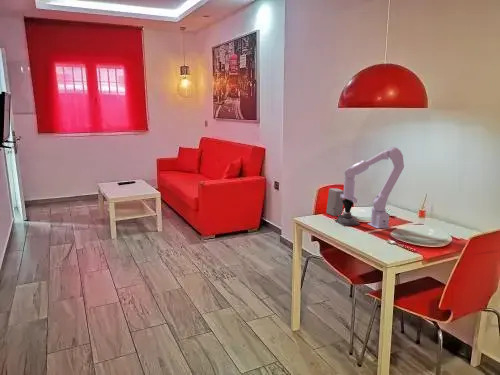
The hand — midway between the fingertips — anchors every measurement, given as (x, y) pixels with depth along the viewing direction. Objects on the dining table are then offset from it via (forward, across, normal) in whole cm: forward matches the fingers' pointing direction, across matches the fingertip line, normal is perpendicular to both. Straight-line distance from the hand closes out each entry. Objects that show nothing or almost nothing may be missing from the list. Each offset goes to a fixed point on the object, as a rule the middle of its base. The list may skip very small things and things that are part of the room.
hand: (347, 212), depth 219 cm
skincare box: (+6, -19, +3) cm, 20 cm away
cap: (+5, 0, 0) cm, 5 cm away
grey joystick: (+6, 0, 0) cm, 6 cm away
